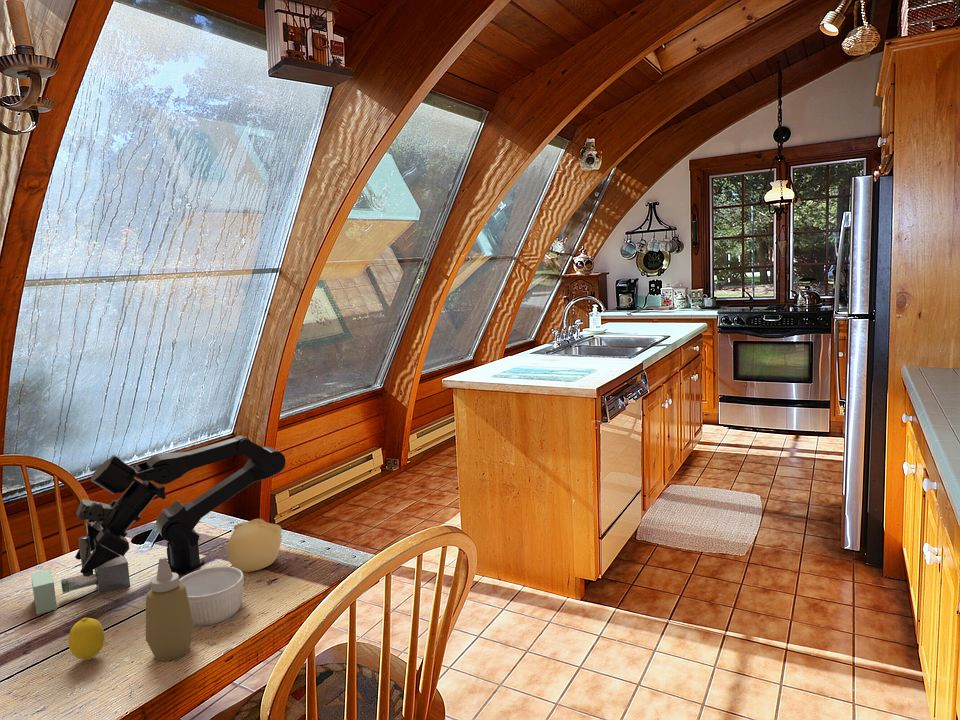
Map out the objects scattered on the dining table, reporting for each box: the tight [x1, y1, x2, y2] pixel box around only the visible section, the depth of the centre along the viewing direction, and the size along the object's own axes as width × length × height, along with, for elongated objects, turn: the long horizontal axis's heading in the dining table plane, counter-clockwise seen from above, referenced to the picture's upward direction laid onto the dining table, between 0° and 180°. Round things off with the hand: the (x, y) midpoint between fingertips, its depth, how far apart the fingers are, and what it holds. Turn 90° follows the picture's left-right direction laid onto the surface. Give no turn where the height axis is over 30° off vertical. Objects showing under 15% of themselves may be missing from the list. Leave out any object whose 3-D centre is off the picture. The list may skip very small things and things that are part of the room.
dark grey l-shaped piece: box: [60, 535, 98, 594], centre depth 145 cm, size 12×3×11 cm, turn 127°
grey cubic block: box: [94, 555, 131, 595], centre depth 148 cm, size 6×5×6 cm
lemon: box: [68, 617, 106, 661], centre depth 119 cm, size 6×6×8 cm
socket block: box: [30, 568, 58, 615], centre depth 140 cm, size 4×8×6 cm, turn 37°
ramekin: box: [179, 565, 245, 627], centre depth 135 cm, size 13×13×7 cm
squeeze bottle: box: [145, 556, 195, 662], centre depth 120 cm, size 8×8×18 cm
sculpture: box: [226, 518, 283, 573], centre depth 156 cm, size 11×12×11 cm
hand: (79, 565), depth 144 cm, fingers open, 9 cm apart
